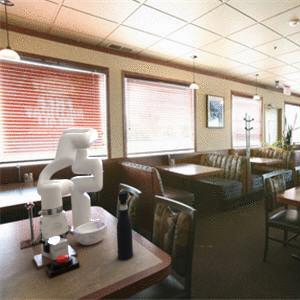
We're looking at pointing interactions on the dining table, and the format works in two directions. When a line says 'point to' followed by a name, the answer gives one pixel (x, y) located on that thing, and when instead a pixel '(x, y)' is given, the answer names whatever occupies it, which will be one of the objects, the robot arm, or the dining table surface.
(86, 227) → the white round bowl
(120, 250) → the wine bottle
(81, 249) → the dining table surface
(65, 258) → the button
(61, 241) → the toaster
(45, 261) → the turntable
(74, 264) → the control block
